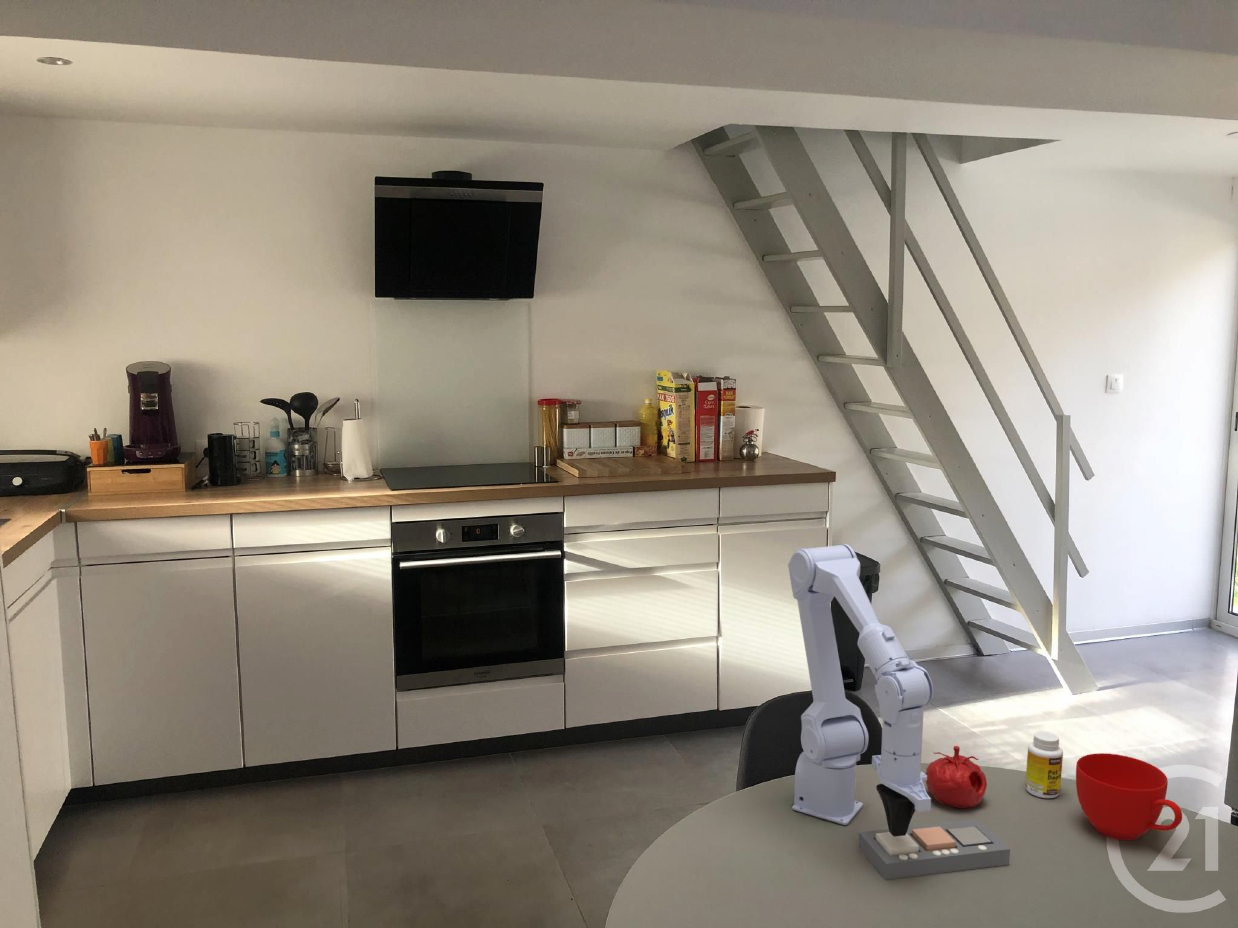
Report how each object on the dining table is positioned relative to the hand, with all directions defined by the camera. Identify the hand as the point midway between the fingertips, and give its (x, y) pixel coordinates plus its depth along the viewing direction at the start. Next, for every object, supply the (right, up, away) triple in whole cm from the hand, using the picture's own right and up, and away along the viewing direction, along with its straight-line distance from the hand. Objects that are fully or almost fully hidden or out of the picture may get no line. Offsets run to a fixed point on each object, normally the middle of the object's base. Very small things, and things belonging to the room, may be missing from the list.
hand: (897, 833), depth 148 cm
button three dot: (+6, -3, +2) cm, 7 cm away
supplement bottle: (+31, -1, +22) cm, 38 cm away
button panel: (+6, -4, +2) cm, 7 cm away
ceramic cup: (+39, -3, +8) cm, 39 cm away
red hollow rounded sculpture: (+15, -2, +20) cm, 25 cm away
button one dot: (+12, -3, +3) cm, 12 cm away
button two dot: (0, -3, 0) cm, 3 cm away
